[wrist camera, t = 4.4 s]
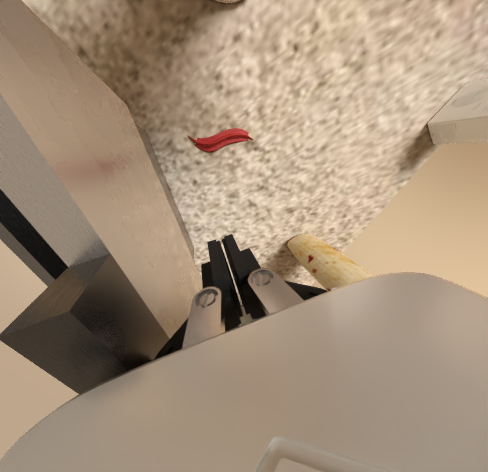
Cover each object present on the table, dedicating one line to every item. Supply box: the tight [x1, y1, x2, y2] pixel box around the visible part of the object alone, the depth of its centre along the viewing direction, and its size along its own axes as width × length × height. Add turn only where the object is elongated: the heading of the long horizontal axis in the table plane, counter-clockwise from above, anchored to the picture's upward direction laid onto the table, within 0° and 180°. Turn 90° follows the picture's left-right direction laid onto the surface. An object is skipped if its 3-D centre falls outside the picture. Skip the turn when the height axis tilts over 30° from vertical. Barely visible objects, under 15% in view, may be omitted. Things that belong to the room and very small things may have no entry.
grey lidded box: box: [0, 126, 194, 287], centre depth 26 cm, size 26×16×12 cm, turn 12°
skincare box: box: [427, 78, 488, 144], centre depth 35 cm, size 10×6×10 cm, turn 138°
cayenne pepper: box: [190, 128, 253, 152], centre depth 30 cm, size 12×5×2 cm, turn 80°
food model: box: [288, 234, 373, 291], centre depth 35 cm, size 10×7×20 cm
